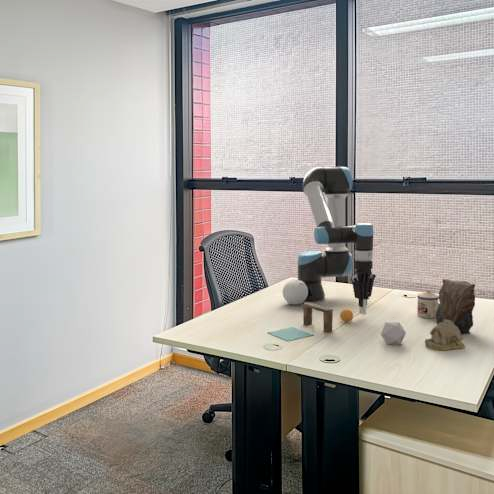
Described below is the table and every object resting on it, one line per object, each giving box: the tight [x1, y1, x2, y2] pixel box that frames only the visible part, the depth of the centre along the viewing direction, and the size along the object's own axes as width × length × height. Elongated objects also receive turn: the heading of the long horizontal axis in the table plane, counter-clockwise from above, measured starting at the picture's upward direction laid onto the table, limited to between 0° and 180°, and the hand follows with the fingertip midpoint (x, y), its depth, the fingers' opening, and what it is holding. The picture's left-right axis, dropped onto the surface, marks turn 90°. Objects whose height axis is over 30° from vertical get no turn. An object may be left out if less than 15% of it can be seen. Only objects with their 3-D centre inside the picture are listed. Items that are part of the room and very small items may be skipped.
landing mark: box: [266, 326, 314, 342], centre depth 220 cm, size 13×13×1 cm
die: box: [380, 321, 407, 346], centre depth 207 cm, size 8×9×10 cm
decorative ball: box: [282, 279, 308, 306], centre depth 266 cm, size 12×12×12 cm
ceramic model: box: [424, 319, 466, 351], centre depth 204 cm, size 14×11×10 cm
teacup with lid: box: [416, 288, 440, 319], centre depth 242 cm, size 12×9×12 cm
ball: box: [339, 308, 354, 323], centre depth 236 cm, size 6×6×6 cm
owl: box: [435, 278, 476, 335], centre depth 221 cm, size 13×13×20 cm
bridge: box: [302, 302, 334, 334], centre depth 227 cm, size 3×14×9 cm, turn 33°
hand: (362, 313), depth 241 cm, fingers closed
